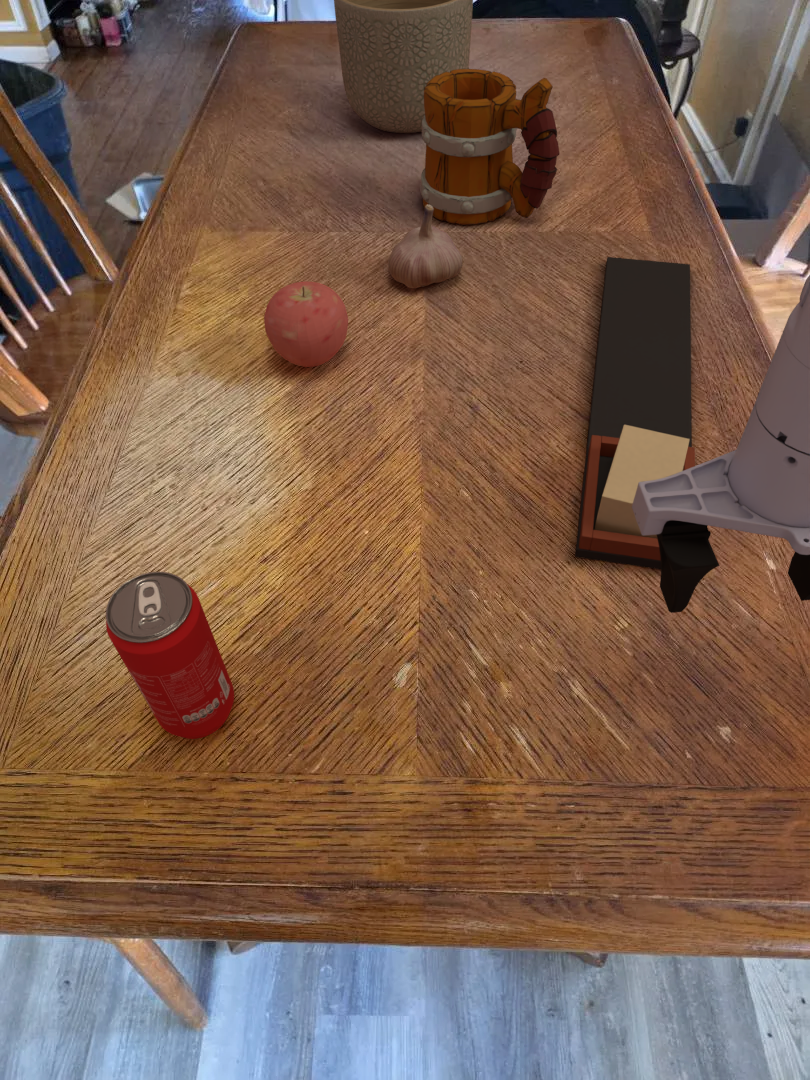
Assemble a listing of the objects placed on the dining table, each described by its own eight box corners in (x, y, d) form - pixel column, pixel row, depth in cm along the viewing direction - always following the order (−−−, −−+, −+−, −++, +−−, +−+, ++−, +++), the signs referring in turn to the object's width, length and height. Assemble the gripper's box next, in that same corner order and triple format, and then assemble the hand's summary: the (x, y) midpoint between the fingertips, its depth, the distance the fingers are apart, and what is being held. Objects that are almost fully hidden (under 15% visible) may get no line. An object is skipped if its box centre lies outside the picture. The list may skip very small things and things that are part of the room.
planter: (472, 91, 114) (476, -38, 102) (465, 147, 103) (469, 10, 91) (353, 90, 116) (344, -38, 104) (334, 145, 105) (321, 9, 93)
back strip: (687, 272, 84) (693, 250, 82) (689, 574, 60) (698, 553, 58) (605, 265, 86) (609, 243, 84) (574, 557, 61) (579, 536, 59)
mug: (449, 171, 100) (451, 34, 88) (570, 207, 93) (589, 65, 82) (399, 209, 94) (395, 69, 82) (524, 250, 88) (538, 105, 76)
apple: (366, 359, 77) (360, 285, 71) (304, 394, 74) (292, 319, 68) (319, 324, 80) (309, 251, 74) (258, 356, 77) (242, 283, 71)
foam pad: (677, 475, 65) (689, 438, 62) (660, 549, 60) (672, 513, 57) (615, 460, 66) (624, 424, 63) (593, 531, 61) (601, 496, 58)
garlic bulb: (472, 267, 86) (475, 195, 80) (444, 305, 82) (444, 231, 76) (408, 252, 88) (406, 180, 82) (377, 287, 84) (372, 214, 78)
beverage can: (162, 754, 52) (102, 655, 43) (156, 685, 55) (99, 579, 46) (242, 733, 53) (201, 632, 43) (231, 666, 56) (191, 558, 46)
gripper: (691, 494, 34) (630, 663, 44) (1028, 465, 34) (889, 638, 45) (644, 385, 38) (599, 562, 49) (942, 360, 39) (834, 540, 49)
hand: (735, 592), depth 47 cm, fingers open, 7 cm apart
